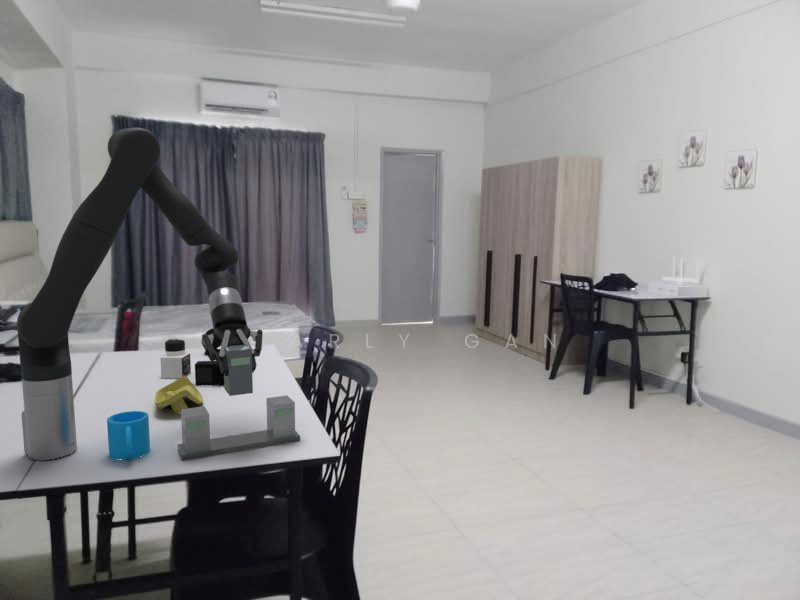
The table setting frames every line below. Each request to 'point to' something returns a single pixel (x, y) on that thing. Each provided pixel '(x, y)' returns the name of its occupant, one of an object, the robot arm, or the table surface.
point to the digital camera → (208, 373)
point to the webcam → (213, 342)
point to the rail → (201, 445)
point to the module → (238, 370)
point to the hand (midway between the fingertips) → (239, 372)
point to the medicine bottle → (175, 360)
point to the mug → (128, 435)
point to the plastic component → (177, 395)
